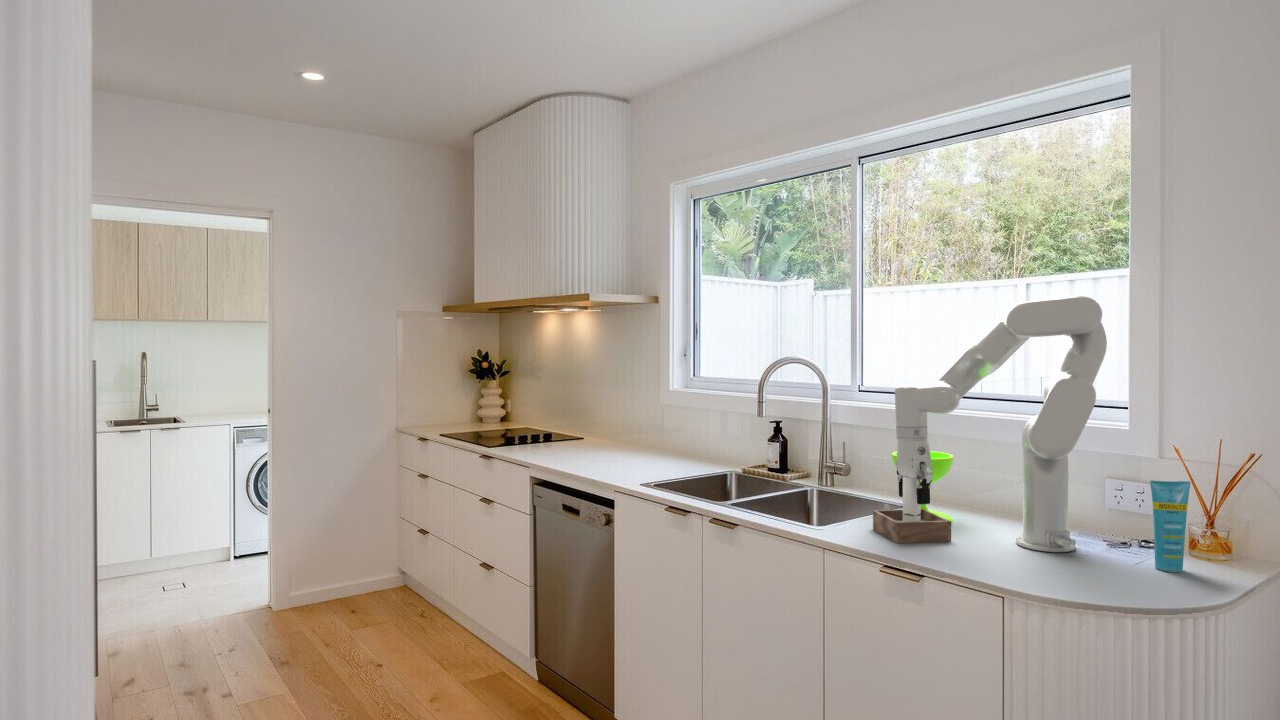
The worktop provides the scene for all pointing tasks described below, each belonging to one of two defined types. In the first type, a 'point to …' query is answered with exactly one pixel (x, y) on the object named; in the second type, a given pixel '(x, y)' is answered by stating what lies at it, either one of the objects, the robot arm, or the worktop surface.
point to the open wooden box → (912, 527)
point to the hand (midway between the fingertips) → (914, 500)
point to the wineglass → (936, 473)
